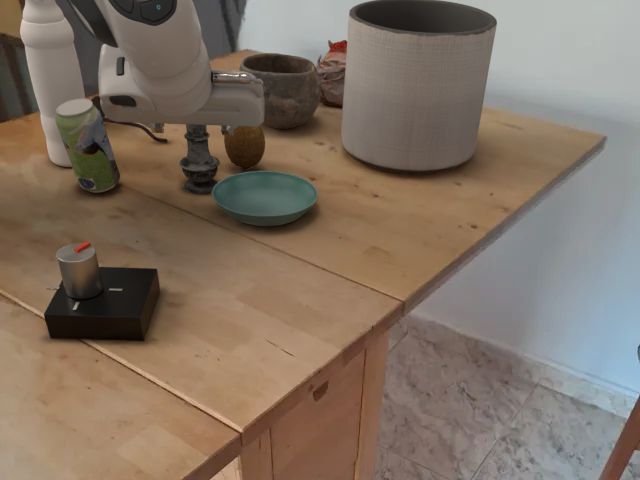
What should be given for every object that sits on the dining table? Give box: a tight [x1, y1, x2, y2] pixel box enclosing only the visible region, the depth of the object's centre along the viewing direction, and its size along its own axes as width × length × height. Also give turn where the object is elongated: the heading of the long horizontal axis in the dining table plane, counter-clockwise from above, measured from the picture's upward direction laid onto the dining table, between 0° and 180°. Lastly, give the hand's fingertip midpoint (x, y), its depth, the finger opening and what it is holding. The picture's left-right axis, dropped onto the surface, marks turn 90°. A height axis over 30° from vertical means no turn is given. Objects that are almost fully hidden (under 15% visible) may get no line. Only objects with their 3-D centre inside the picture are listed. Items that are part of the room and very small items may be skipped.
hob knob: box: [55, 241, 103, 299], centre depth 73 cm, size 4×4×5 cm
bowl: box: [238, 52, 322, 130], centre depth 118 cm, size 14×15×10 cm
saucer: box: [211, 170, 319, 227], centre depth 96 cm, size 15×15×3 cm
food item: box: [315, 39, 347, 108], centre depth 130 cm, size 14×8×10 cm, turn 169°
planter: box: [340, 0, 498, 176], centre depth 107 cm, size 22×22×20 cm
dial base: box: [43, 266, 161, 342], centre depth 76 cm, size 11×10×3 cm
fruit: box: [223, 125, 266, 170], centre depth 104 cm, size 6×6×8 cm
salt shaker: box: [178, 124, 221, 195], centre depth 98 cm, size 6×6×12 cm
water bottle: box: [19, 0, 86, 168], centre depth 99 cm, size 7×7×25 cm
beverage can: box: [55, 97, 121, 194], centre depth 96 cm, size 6×7×12 cm
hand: (193, 129), depth 93 cm, fingers open, 8 cm apart
